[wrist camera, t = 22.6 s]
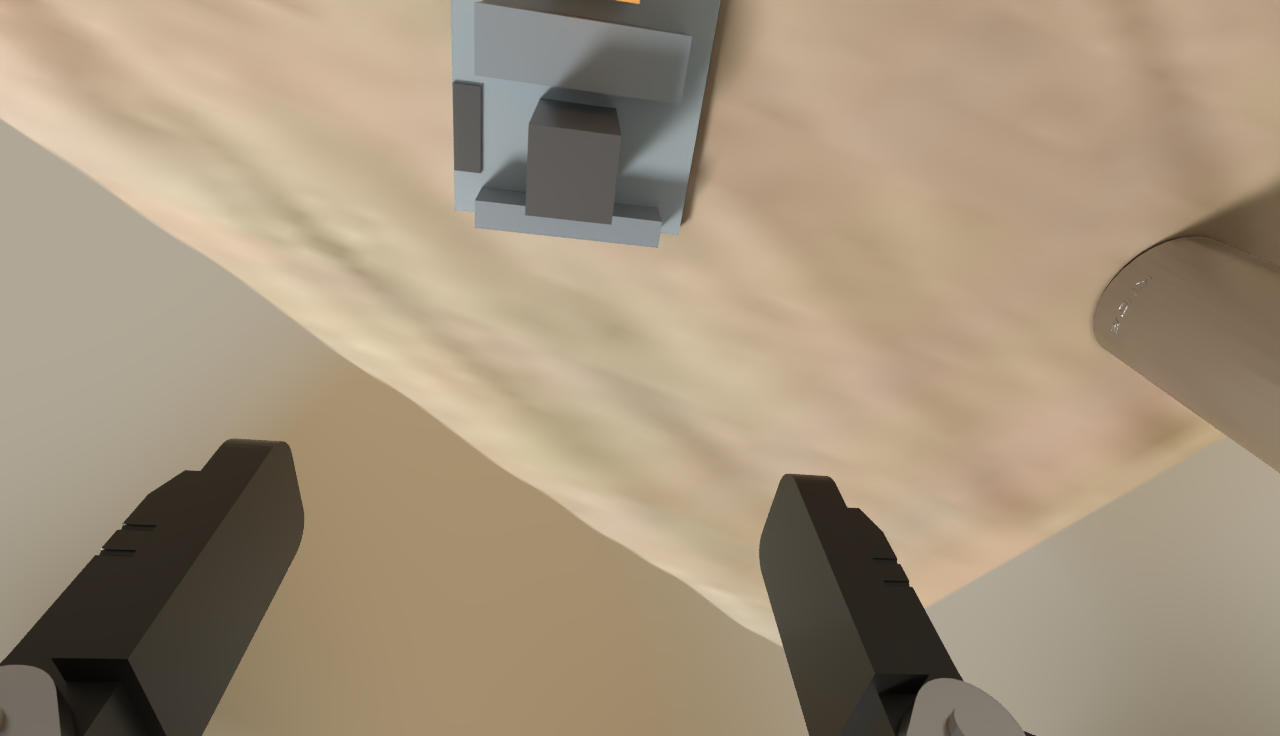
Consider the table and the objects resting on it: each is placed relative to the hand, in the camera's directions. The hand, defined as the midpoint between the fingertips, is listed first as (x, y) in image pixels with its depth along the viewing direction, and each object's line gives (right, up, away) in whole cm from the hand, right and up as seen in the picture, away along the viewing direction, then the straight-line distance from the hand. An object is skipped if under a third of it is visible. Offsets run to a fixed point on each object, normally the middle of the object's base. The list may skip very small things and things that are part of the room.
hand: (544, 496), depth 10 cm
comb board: (-1, +19, +21) cm, 28 cm away
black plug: (-2, +14, +23) cm, 27 cm away
